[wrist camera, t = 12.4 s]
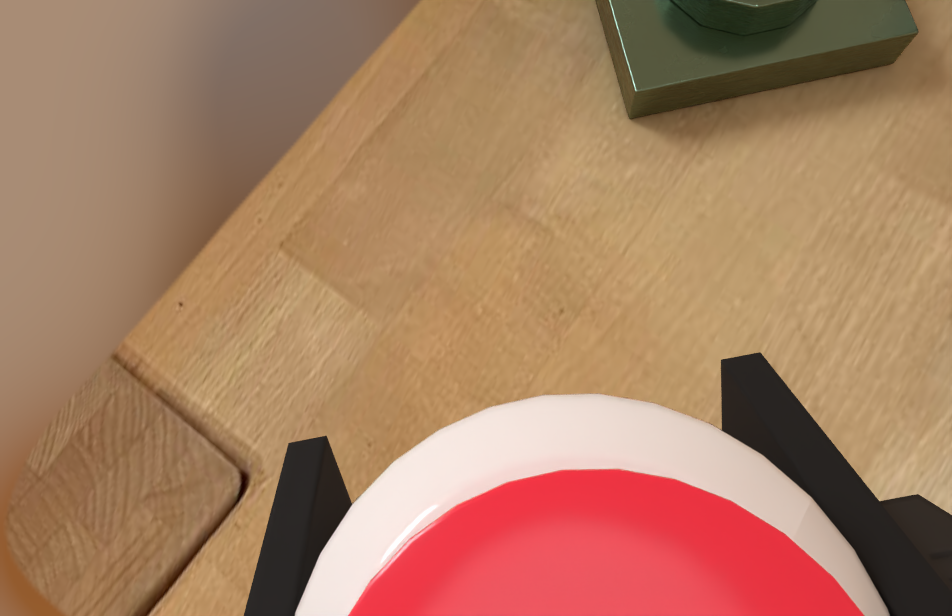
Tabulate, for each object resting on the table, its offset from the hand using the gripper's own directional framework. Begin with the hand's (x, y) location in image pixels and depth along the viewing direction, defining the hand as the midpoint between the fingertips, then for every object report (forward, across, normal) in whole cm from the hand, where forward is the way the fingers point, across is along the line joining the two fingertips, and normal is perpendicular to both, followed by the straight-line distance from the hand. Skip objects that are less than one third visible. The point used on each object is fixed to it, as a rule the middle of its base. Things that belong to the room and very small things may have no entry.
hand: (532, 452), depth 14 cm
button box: (+24, +13, +4) cm, 28 cm away
